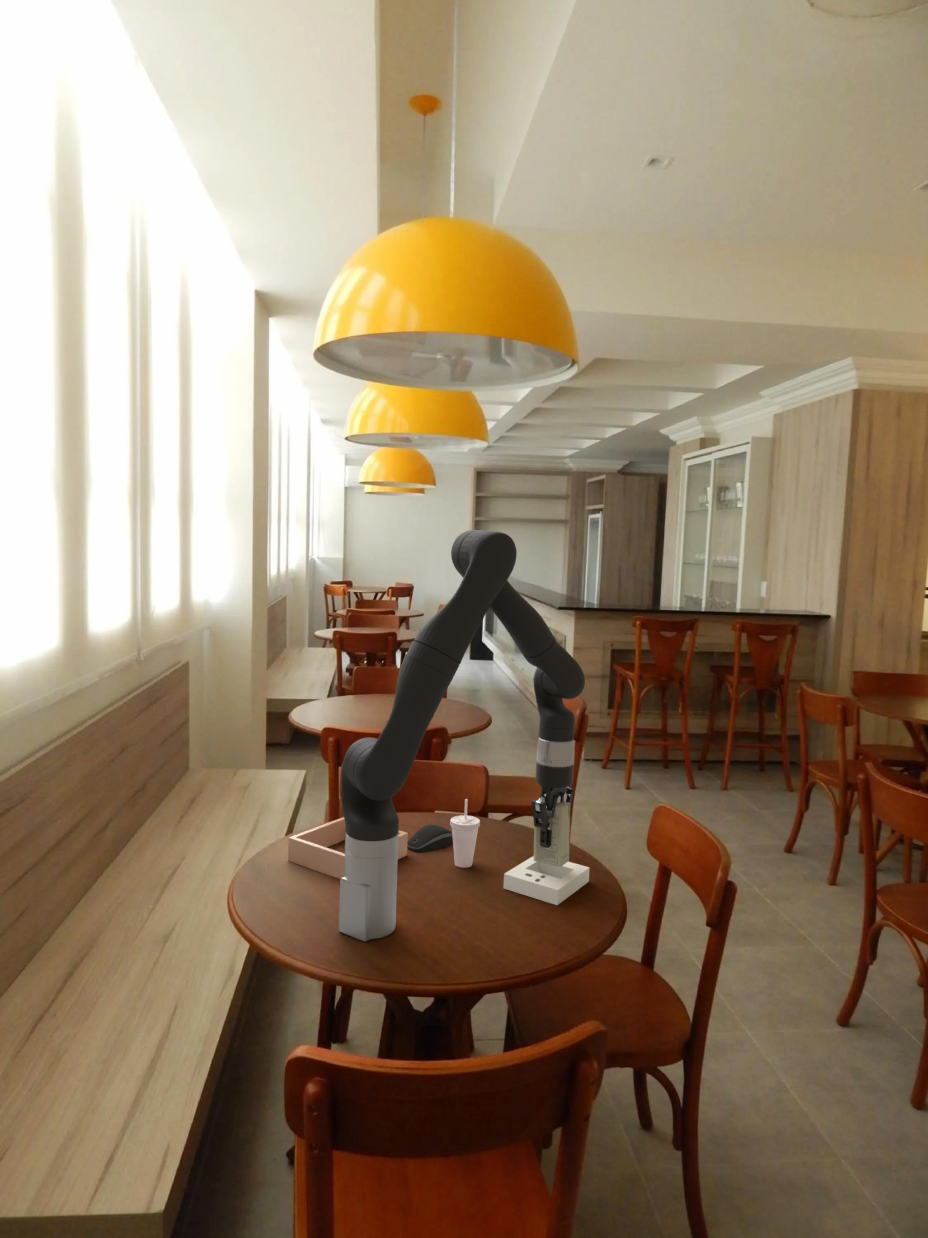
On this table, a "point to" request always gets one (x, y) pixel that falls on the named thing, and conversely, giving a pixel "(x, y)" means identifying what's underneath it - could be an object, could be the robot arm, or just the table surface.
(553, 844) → the skincare box
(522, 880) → the socket board
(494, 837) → the table surface
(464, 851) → the smoothie
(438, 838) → the computer mouse
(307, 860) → the pink square tray
